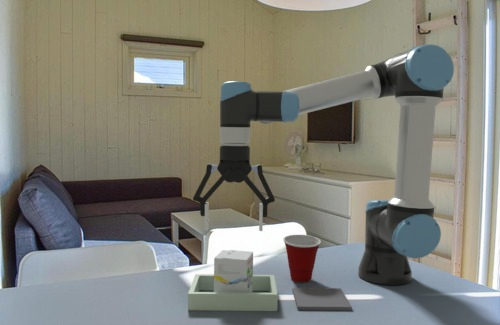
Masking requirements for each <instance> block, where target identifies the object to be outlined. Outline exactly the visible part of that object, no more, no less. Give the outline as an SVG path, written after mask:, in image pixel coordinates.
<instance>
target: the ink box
mask: <svg viewBox="0 0 500 325" xmlns="http://www.w3.org/2000/svg"><path fill="white" fill-rule="evenodd" d="M213 260H214V262H213V264H214V266H213V274H214V290H213V292H251V293H254V291H253V275H254V251H249V250H248V251H246V250H237V249H236V250H235V249H229V250H225V249H222V250H221V251H220V252H219V253H218V254H217V255H216V256H214V259H213Z"/></svg>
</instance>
